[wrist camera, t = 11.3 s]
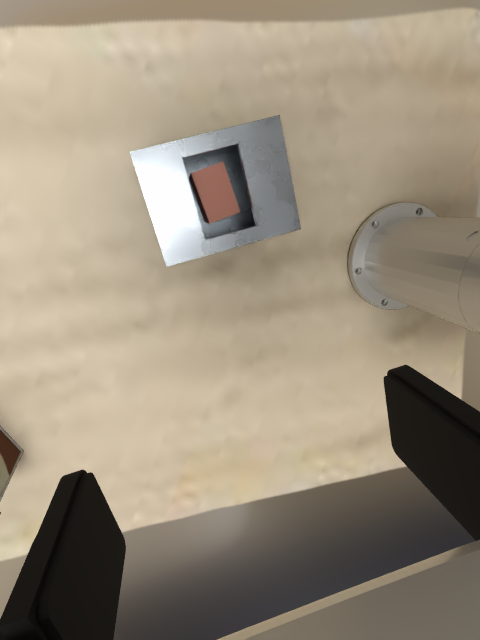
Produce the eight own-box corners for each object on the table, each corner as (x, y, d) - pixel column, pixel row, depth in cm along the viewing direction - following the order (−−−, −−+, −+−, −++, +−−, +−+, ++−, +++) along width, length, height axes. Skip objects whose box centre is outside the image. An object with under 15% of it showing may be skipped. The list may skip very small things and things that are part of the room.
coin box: (254, 137, 36) (279, 115, 28) (273, 225, 39) (300, 229, 31) (140, 166, 35) (129, 151, 27) (168, 254, 38) (166, 266, 30)
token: (215, 168, 36) (223, 161, 31) (231, 212, 37) (240, 212, 32) (188, 178, 36) (191, 173, 31) (204, 222, 37) (209, 223, 32)
